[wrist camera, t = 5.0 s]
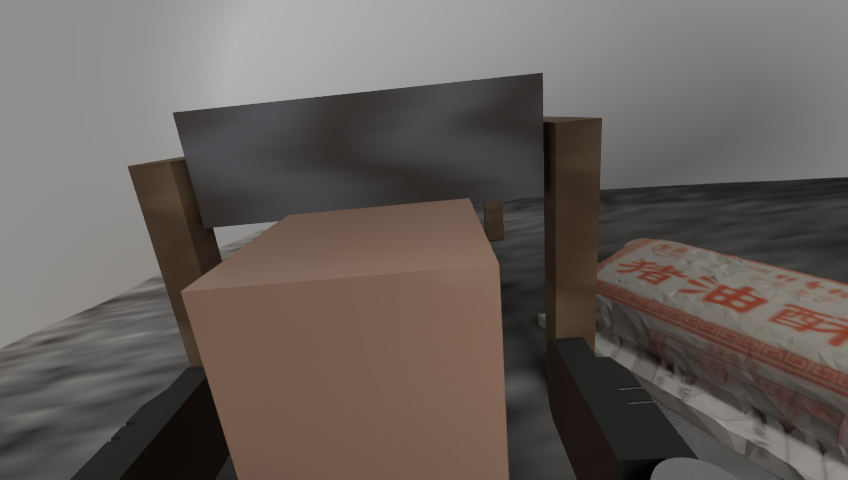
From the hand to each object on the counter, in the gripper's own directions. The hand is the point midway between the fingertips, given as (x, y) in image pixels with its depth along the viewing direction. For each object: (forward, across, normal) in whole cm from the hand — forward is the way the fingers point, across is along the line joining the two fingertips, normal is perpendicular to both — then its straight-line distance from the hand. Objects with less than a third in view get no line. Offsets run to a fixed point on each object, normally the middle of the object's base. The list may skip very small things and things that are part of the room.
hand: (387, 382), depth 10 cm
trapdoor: (+16, +1, -3) cm, 17 cm away
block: (0, 0, +6) cm, 6 cm away
